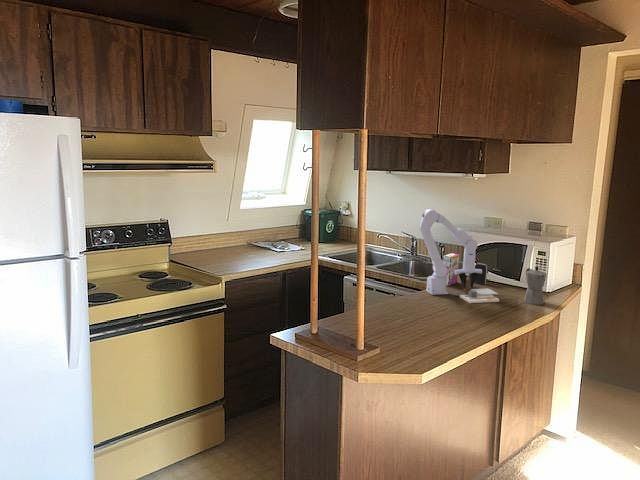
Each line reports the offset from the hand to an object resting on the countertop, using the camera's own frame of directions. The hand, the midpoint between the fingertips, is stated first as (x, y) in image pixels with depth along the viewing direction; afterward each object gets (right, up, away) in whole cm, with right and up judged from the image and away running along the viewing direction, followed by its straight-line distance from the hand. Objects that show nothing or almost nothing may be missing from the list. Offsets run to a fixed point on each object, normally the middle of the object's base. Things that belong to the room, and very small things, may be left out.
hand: (467, 287), depth 270 cm
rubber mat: (+10, -3, +3) cm, 11 cm away
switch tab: (-1, -4, -11) cm, 12 cm away
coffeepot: (+29, -6, -12) cm, 32 cm away
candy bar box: (-4, 0, +20) cm, 20 cm away
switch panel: (+3, -5, -10) cm, 12 cm away
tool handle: (0, -2, 0) cm, 2 cm away
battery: (+14, 0, +22) cm, 26 cm away
